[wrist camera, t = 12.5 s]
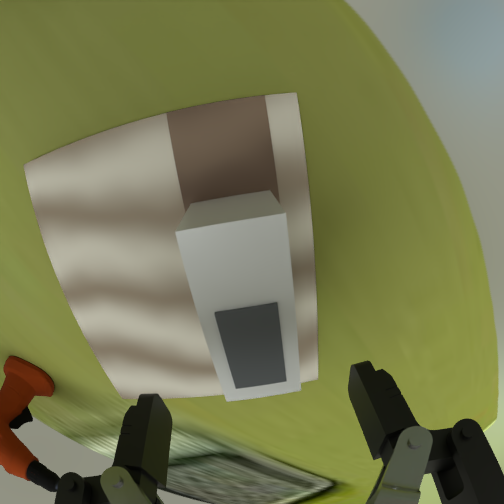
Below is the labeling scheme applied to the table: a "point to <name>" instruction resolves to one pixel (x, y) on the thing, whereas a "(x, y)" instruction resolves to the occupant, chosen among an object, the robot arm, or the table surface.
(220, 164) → the subfloor panel
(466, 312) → the table surface
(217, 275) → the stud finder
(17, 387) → the toy drill
